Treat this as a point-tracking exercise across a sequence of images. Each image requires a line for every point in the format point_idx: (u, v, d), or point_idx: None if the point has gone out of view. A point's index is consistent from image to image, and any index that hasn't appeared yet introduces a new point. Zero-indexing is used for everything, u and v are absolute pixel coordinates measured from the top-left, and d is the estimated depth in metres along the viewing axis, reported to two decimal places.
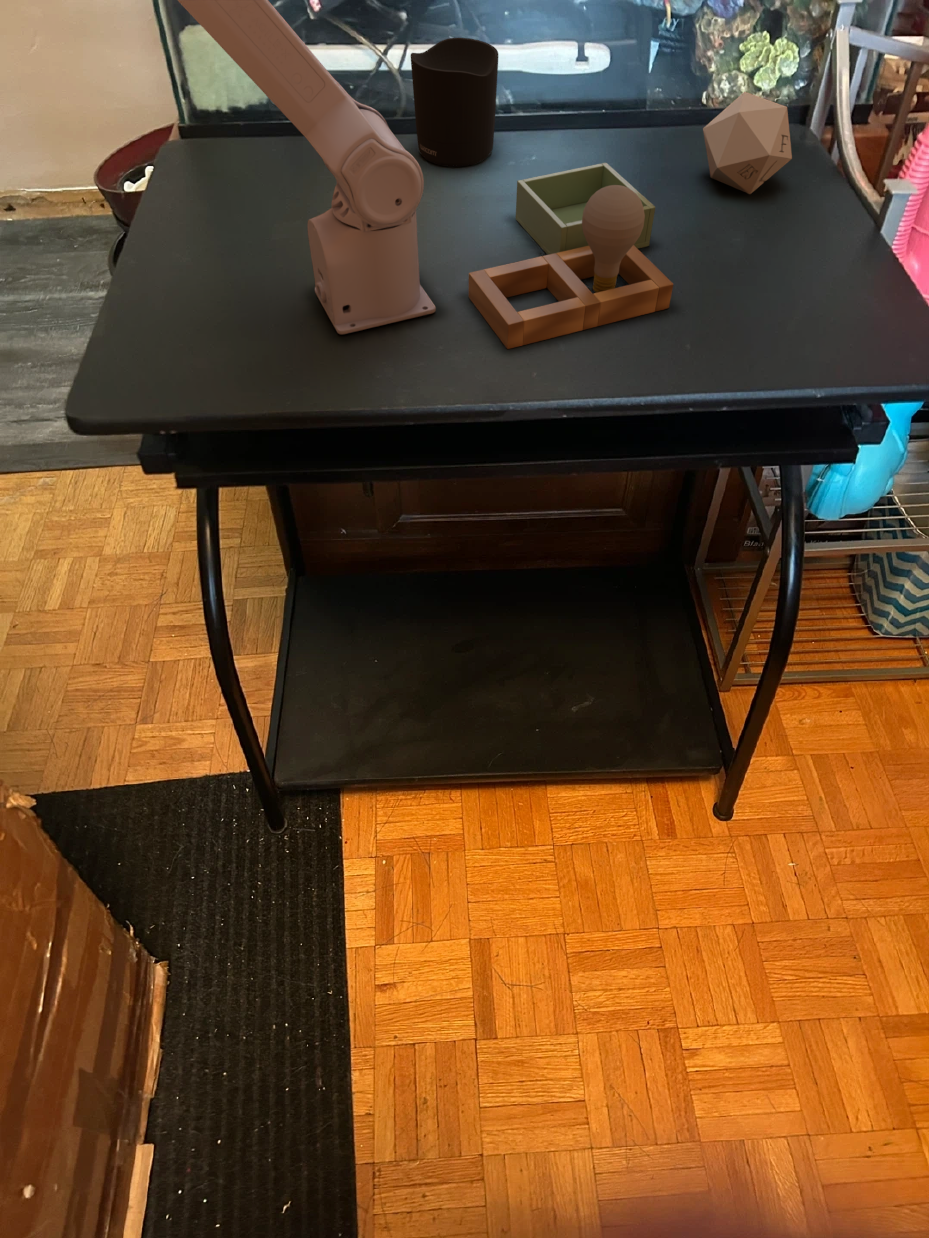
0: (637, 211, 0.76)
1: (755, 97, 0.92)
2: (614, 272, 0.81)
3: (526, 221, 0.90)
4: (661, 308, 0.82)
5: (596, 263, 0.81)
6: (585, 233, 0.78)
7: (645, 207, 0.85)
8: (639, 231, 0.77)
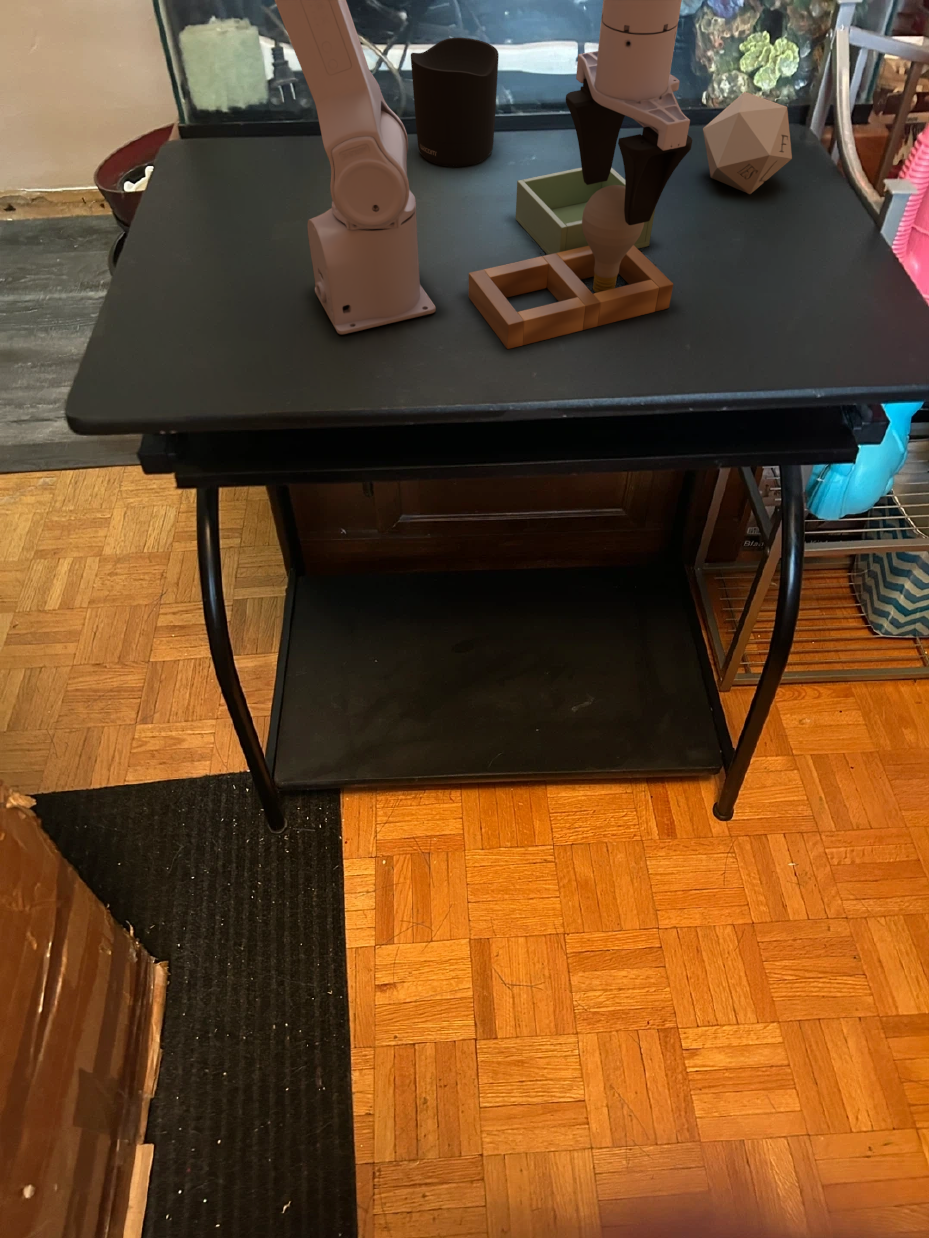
0: None
1: (755, 96, 0.92)
2: (614, 272, 0.81)
3: (526, 221, 0.90)
4: (661, 308, 0.82)
5: (596, 263, 0.81)
6: (585, 233, 0.78)
7: None
8: (639, 231, 0.77)
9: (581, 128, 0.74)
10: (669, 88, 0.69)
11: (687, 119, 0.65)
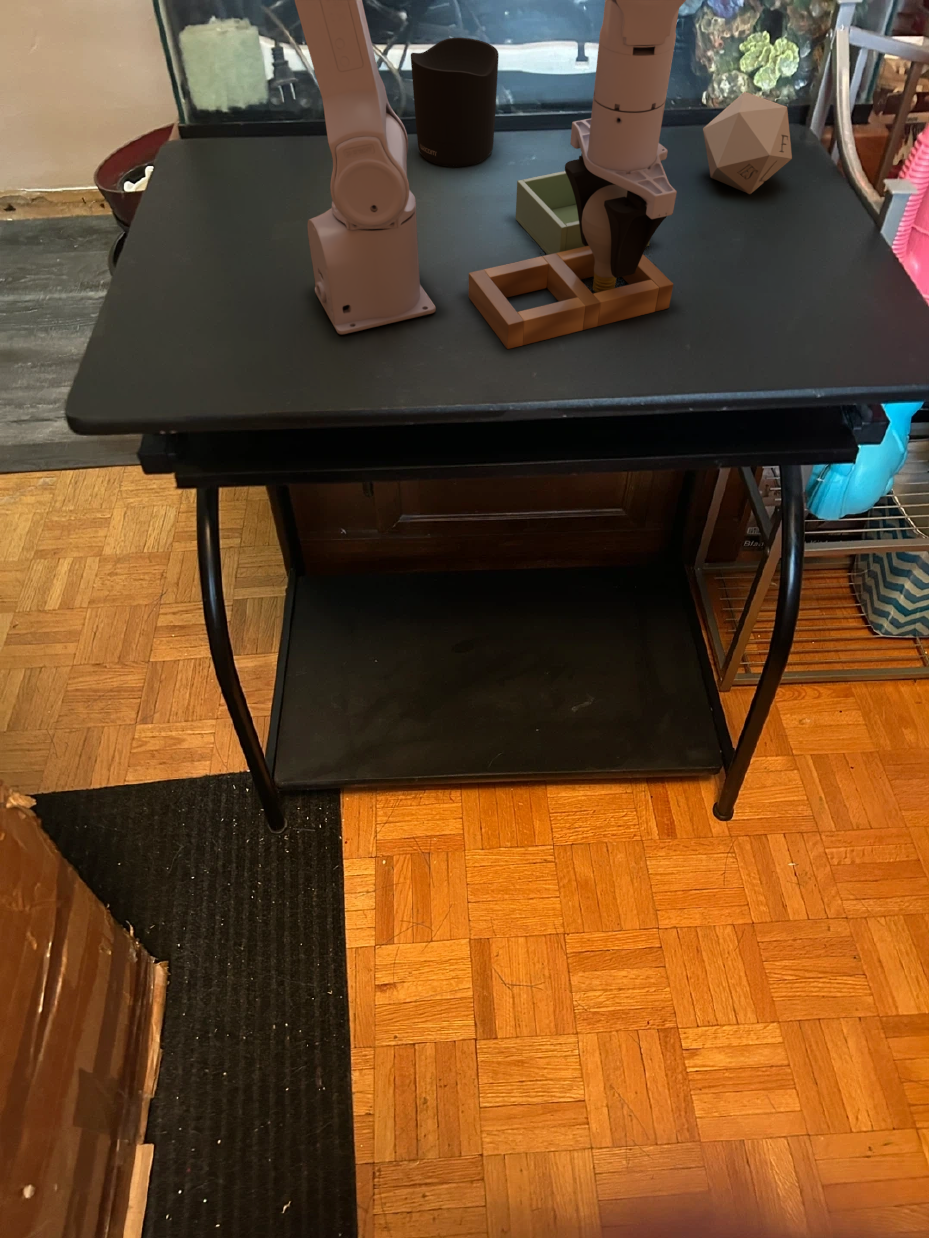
0: None
1: (755, 96, 0.92)
2: None
3: (526, 221, 0.90)
4: (661, 308, 0.82)
5: (596, 263, 0.81)
6: (585, 233, 0.78)
7: None
8: None
9: (579, 195, 0.78)
10: (657, 158, 0.73)
11: (674, 191, 0.69)
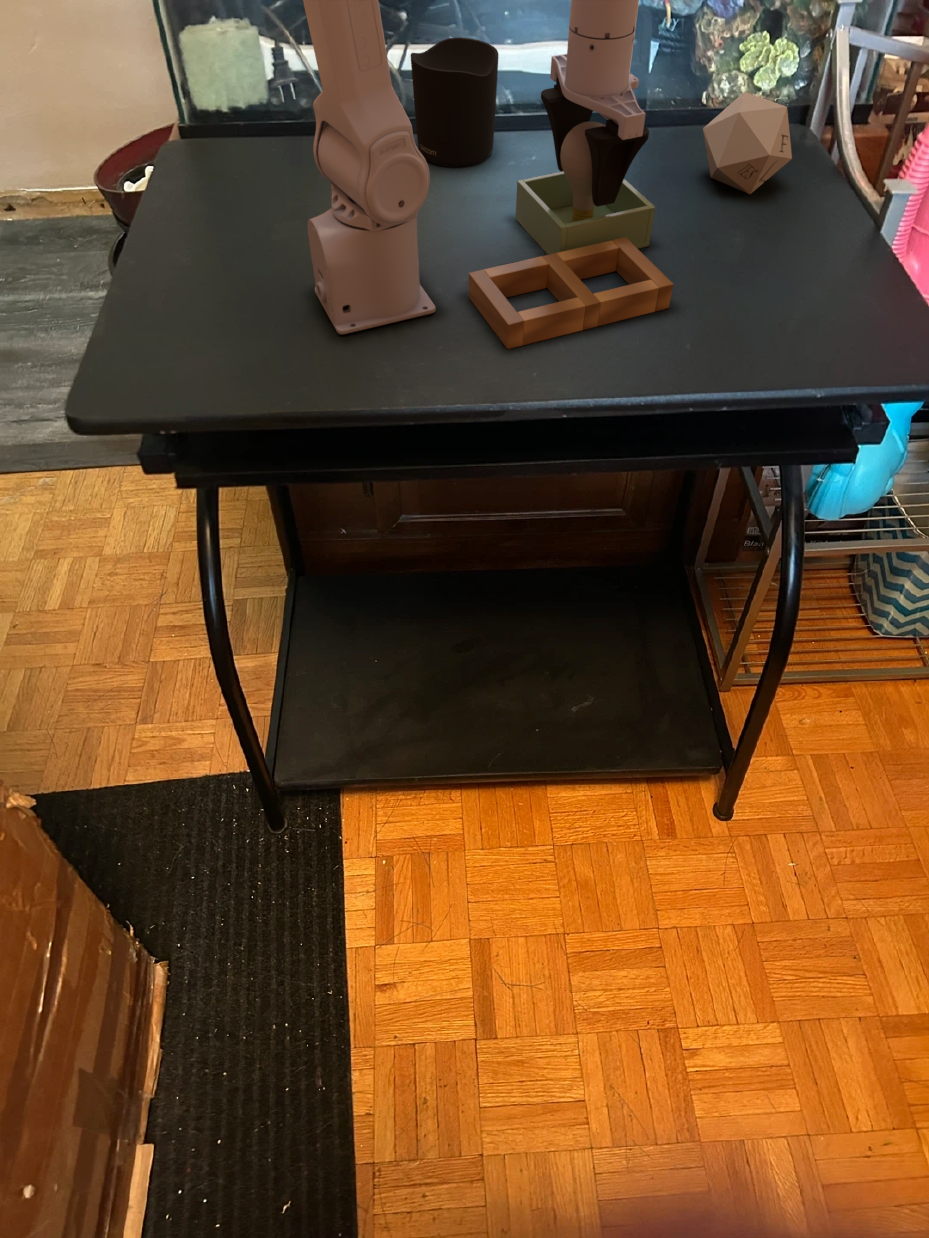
0: None
1: (755, 96, 0.92)
2: (591, 205, 0.87)
3: (526, 221, 0.90)
4: (661, 308, 0.82)
5: (574, 196, 0.87)
6: (563, 167, 0.84)
7: (645, 207, 0.85)
8: None
9: (554, 121, 0.85)
10: (629, 86, 0.79)
11: (643, 113, 0.76)
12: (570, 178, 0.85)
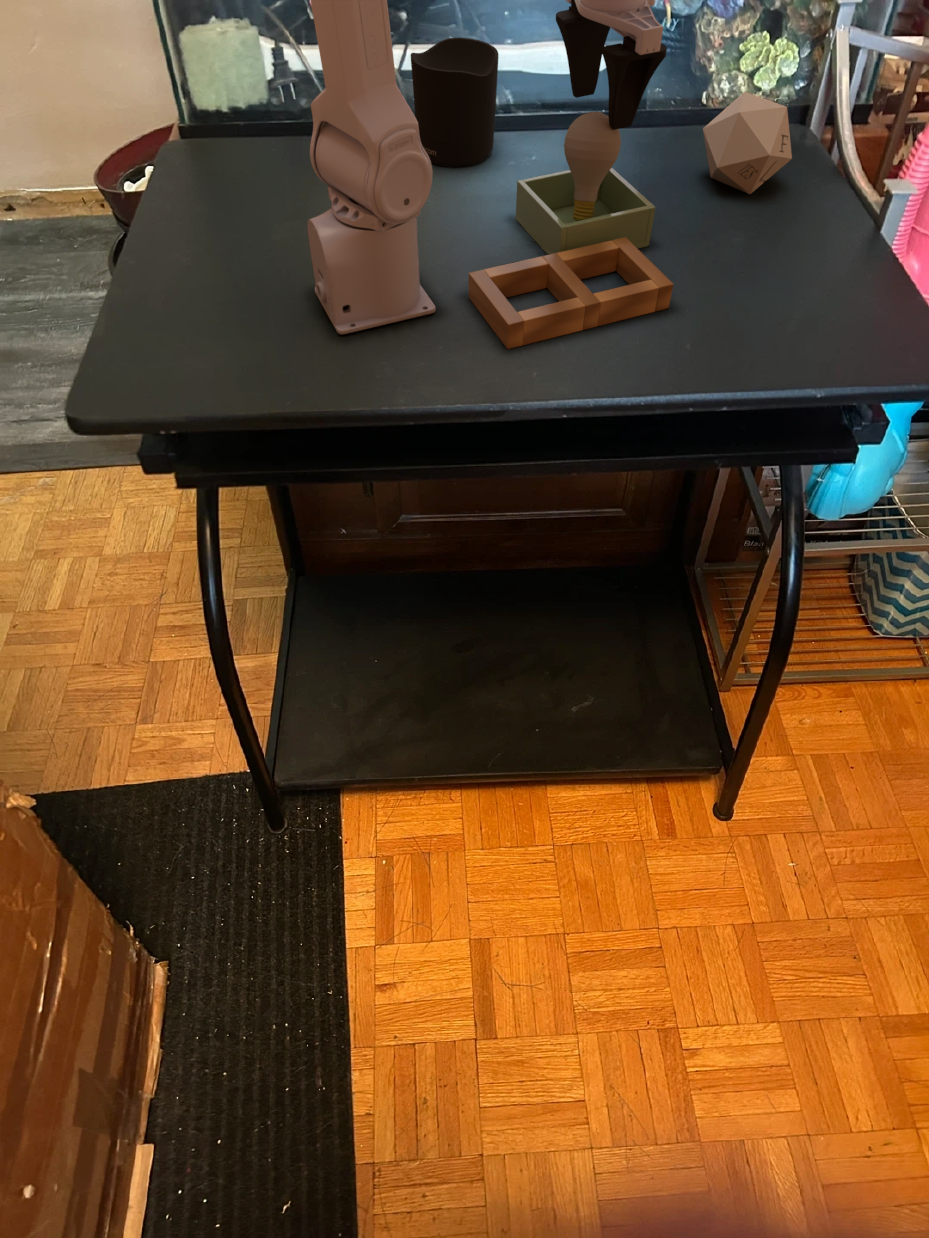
0: (614, 130, 0.84)
1: (755, 97, 0.92)
2: (592, 196, 0.88)
3: (526, 221, 0.90)
4: (661, 308, 0.82)
5: (576, 188, 0.88)
6: (567, 152, 0.85)
7: (645, 207, 0.85)
8: (616, 150, 0.85)
9: (569, 43, 0.84)
10: (646, 2, 0.78)
11: (660, 26, 0.75)
12: (574, 163, 0.85)
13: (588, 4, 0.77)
